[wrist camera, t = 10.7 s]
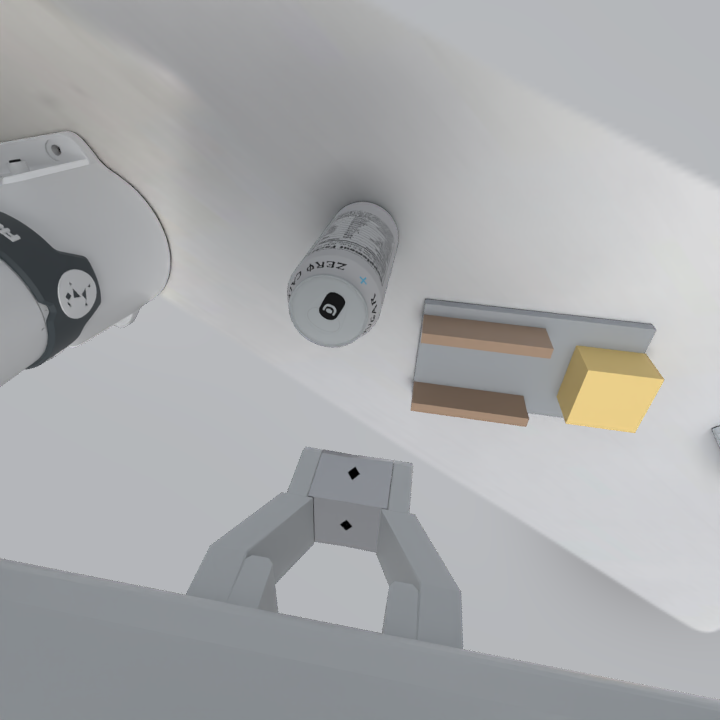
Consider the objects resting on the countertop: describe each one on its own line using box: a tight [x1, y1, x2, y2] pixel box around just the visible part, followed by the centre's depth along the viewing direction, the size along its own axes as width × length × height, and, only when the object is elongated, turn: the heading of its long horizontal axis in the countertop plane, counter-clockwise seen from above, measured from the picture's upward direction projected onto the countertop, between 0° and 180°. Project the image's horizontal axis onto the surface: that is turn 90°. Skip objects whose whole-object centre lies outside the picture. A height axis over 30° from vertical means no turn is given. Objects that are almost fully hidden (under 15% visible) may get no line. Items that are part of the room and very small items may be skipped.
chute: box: [411, 299, 656, 427], centre depth 41 cm, size 20×11×4 cm, turn 87°
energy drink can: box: [287, 202, 399, 348], centre depth 32 cm, size 6×6×15 cm
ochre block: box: [556, 345, 664, 433], centre depth 39 cm, size 6×6×4 cm
